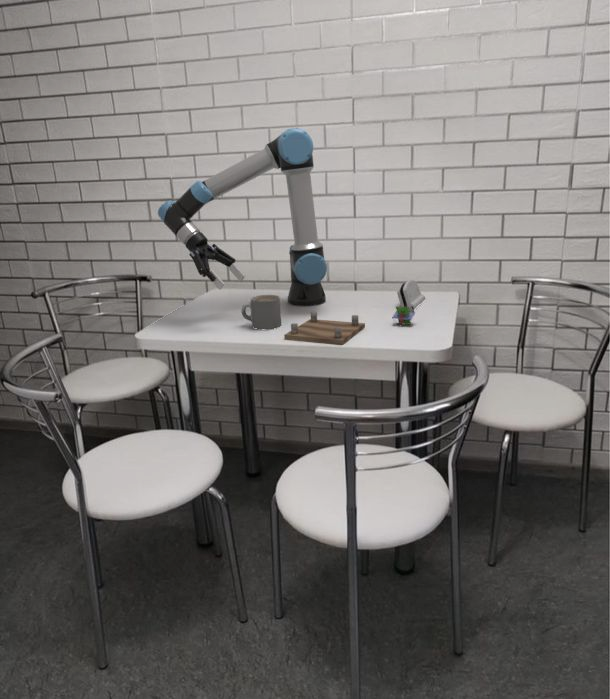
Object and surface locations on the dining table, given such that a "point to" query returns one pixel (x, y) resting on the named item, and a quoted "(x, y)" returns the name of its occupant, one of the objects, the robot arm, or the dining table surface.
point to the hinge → (410, 294)
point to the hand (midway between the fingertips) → (232, 283)
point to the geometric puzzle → (404, 314)
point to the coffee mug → (264, 311)
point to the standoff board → (325, 330)
